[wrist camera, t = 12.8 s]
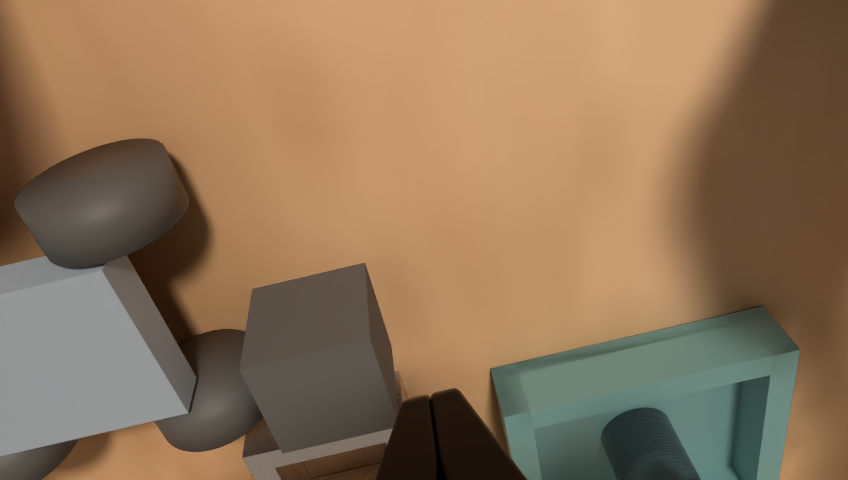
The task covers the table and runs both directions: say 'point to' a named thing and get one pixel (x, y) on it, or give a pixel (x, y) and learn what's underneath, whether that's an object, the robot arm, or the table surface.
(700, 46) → the table surface
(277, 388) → the dark grey cube
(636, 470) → the pin
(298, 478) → the socket
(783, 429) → the tray
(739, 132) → the table surface
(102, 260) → the trolley
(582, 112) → the table surface
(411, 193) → the table surface
